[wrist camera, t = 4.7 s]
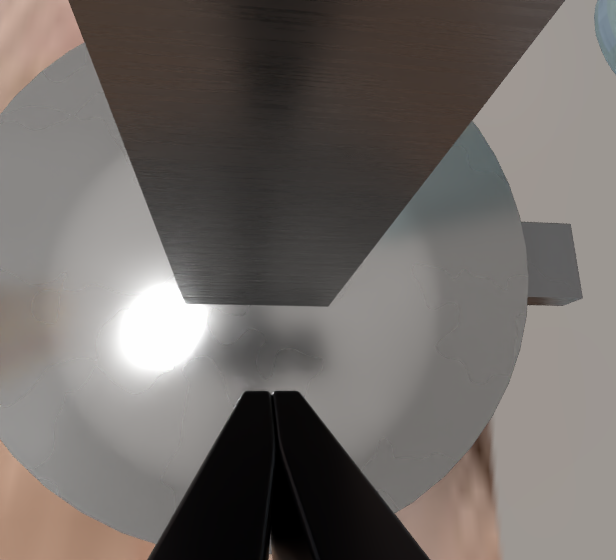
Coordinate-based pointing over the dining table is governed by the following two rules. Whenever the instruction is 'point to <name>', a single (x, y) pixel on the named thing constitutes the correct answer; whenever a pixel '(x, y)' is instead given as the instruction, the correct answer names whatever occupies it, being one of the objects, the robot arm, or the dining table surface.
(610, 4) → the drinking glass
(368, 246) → the disc with square post
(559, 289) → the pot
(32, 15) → the dining table surface
